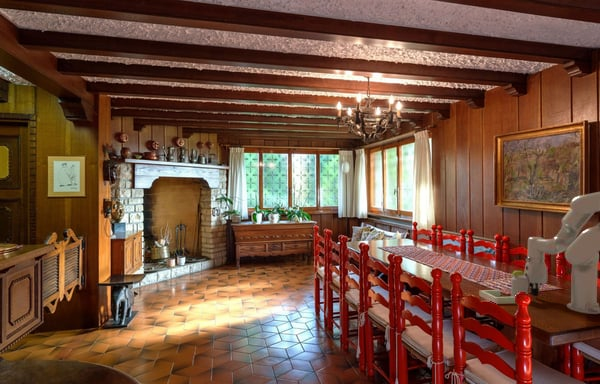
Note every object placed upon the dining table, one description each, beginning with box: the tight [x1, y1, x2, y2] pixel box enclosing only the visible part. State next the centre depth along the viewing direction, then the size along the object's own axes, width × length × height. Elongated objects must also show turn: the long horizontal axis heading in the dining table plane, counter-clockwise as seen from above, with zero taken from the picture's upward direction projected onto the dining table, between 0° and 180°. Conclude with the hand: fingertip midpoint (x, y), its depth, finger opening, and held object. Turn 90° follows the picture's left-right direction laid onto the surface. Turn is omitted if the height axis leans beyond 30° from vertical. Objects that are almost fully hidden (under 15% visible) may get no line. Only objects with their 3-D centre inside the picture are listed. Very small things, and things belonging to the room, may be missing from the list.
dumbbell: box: [510, 270, 524, 278], centre depth 212 cm, size 16×8×7 cm, turn 155°
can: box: [510, 275, 529, 297], centre depth 185 cm, size 8×8×12 cm
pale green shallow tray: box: [478, 289, 516, 305], centre depth 184 cm, size 13×11×3 cm
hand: (534, 295), depth 186 cm, fingers closed
